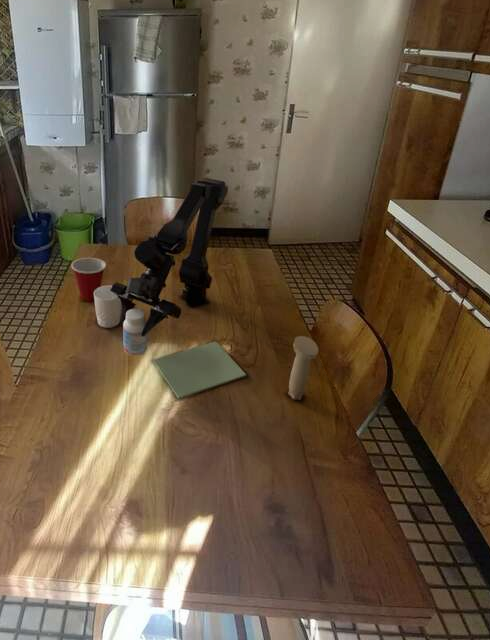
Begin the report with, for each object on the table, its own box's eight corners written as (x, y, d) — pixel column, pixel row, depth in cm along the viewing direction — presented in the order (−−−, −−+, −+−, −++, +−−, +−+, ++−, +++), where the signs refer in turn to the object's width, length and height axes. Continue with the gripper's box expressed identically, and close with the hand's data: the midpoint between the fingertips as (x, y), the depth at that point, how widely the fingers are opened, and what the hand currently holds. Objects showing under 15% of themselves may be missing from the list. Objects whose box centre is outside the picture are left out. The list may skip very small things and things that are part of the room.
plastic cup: (113, 292, 143) (112, 259, 138) (96, 309, 134) (94, 275, 129) (85, 284, 147) (83, 252, 142) (66, 300, 138) (64, 267, 133)
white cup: (118, 331, 124) (117, 301, 120) (91, 327, 126) (90, 298, 121) (124, 315, 131) (124, 286, 127) (99, 311, 133) (98, 283, 128)
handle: (301, 386, 106) (312, 336, 99) (309, 406, 100) (321, 355, 94) (281, 385, 106) (291, 335, 99) (288, 405, 100) (299, 354, 94)
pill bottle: (123, 342, 115) (122, 307, 110) (146, 341, 116) (146, 306, 111) (123, 357, 110) (123, 321, 105) (147, 356, 110) (148, 320, 106)
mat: (216, 342, 120) (216, 341, 120) (245, 376, 109) (246, 374, 108) (153, 361, 113) (153, 359, 113) (178, 399, 102) (178, 397, 101)
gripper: (113, 254, 110) (87, 311, 107) (177, 275, 101) (150, 339, 98) (131, 268, 120) (108, 321, 116) (191, 289, 110) (168, 347, 107)
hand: (131, 331), depth 109 cm, fingers closed on pill bottle, 6 cm apart
